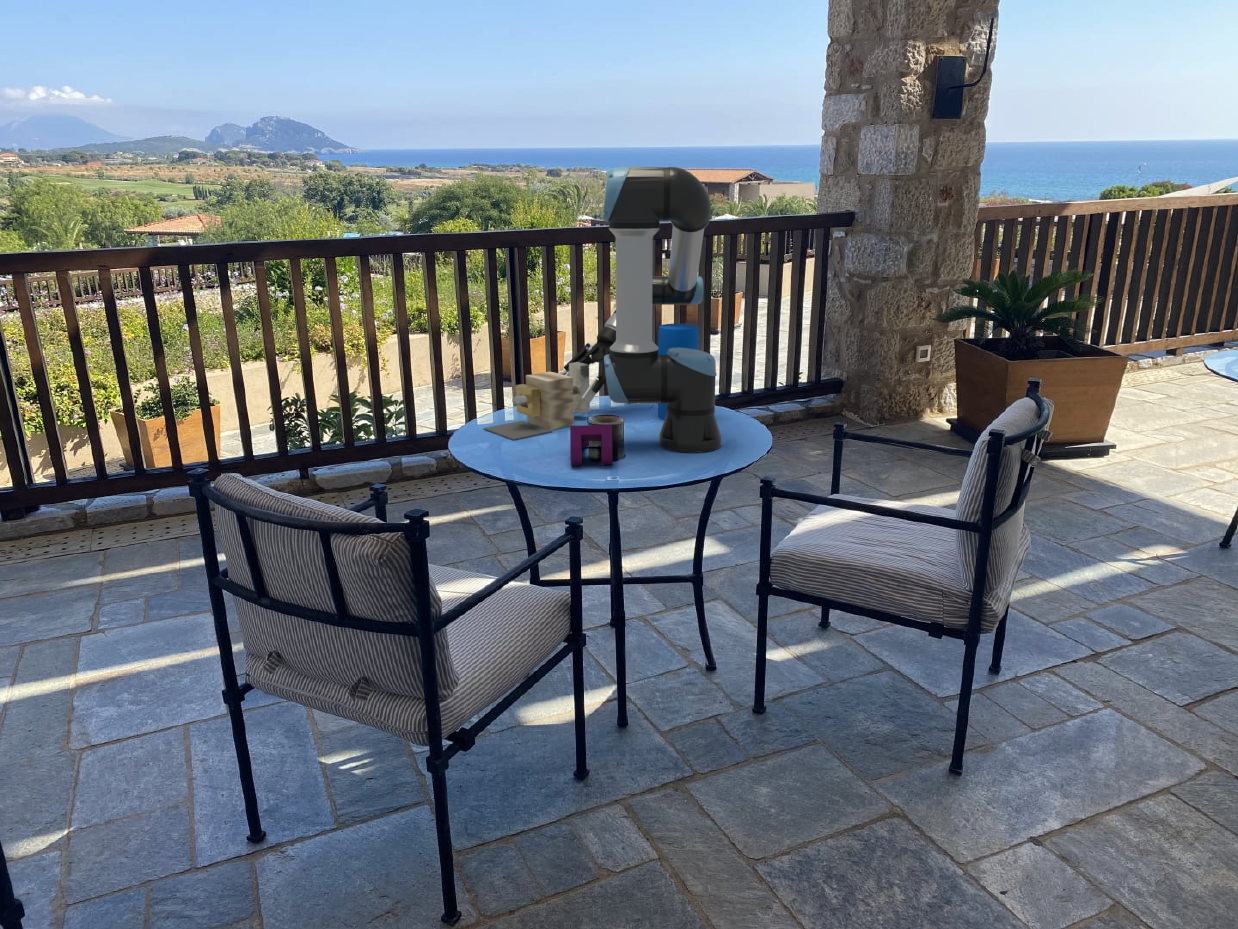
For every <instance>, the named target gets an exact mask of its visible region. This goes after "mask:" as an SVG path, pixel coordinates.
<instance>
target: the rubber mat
mask: <svg viewBox="0 0 1238 929" xmlns="http://www.w3.org/2000/svg"><path fill="white" fill-rule="evenodd" d="M483 430H484V431H486V432H489V433H492V434H494V435H497V436H499V437H503V438H505V439H508V440H510V441H513V442H515V441H518V440H525V439H528V438H533V437H537V436H541V435H546V434H551V433H553V430H548V429H545V428H542V427H540V426H537V425H534V424H531V423H528V422H527V421H524V420H522V419H521V420H516V421H513V422H508V423H503V424H497V425H493V426H487V427H483Z"/></svg>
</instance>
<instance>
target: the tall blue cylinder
mask: <svg viewBox="0 0 1238 929" xmlns="http://www.w3.org/2000/svg"><path fill="white" fill-rule="evenodd" d="M699 335H700V331H699V326H698V325H697V324H692V323H665V324H661V325H659V326H658V332H657V346H658V355H667V352H668V349H670V348H689V349H695V350H699V343H700V342H699V338H700V336H699ZM666 414H667V403H657V418H658V417H659V418H660V419H659V418H658V419H659V420H661V419H662V420H661V421H663V420H665V417H666Z"/></svg>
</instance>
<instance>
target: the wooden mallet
mask: <svg viewBox="0 0 1238 929" xmlns="http://www.w3.org/2000/svg"><path fill="white" fill-rule="evenodd" d="M569 376H570V377H573V412H575V413H578V414H584V413H589V412H591V408H590V407H591V406H590V404H591V403H590V404H587V403H586V402H585V401H584V400H583V399H582V397H583V395H584V394H585V392H586V391H587V389H588V388H589V386H590V365H588V364H584V363H580V362H574V363H569ZM539 398H540V401H541V392H539ZM511 401H512V404H513V406H515V407H517V406H518V405H523V404H528V402H527V396H525V395H521V396H516V395H515V396H513V397H512V400H511Z"/></svg>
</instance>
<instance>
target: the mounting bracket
mask: <svg viewBox="0 0 1238 929" xmlns="http://www.w3.org/2000/svg"><path fill="white" fill-rule="evenodd" d="M569 431H570V432H569V442H570V443H569V444H570V446H569V448H570V466H571V465H576V466H583V465H582V459H583V458H582V448H589V447H588V446H589V441H601V447H600V449H601V450H600V451H601V452H600V453H601V454H600V455H601V465H602V466H612V465H613V425H612V424H605V425H603V424H602V425H601V424H598V425H597V424H595V425H572V426H569Z"/></svg>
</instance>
